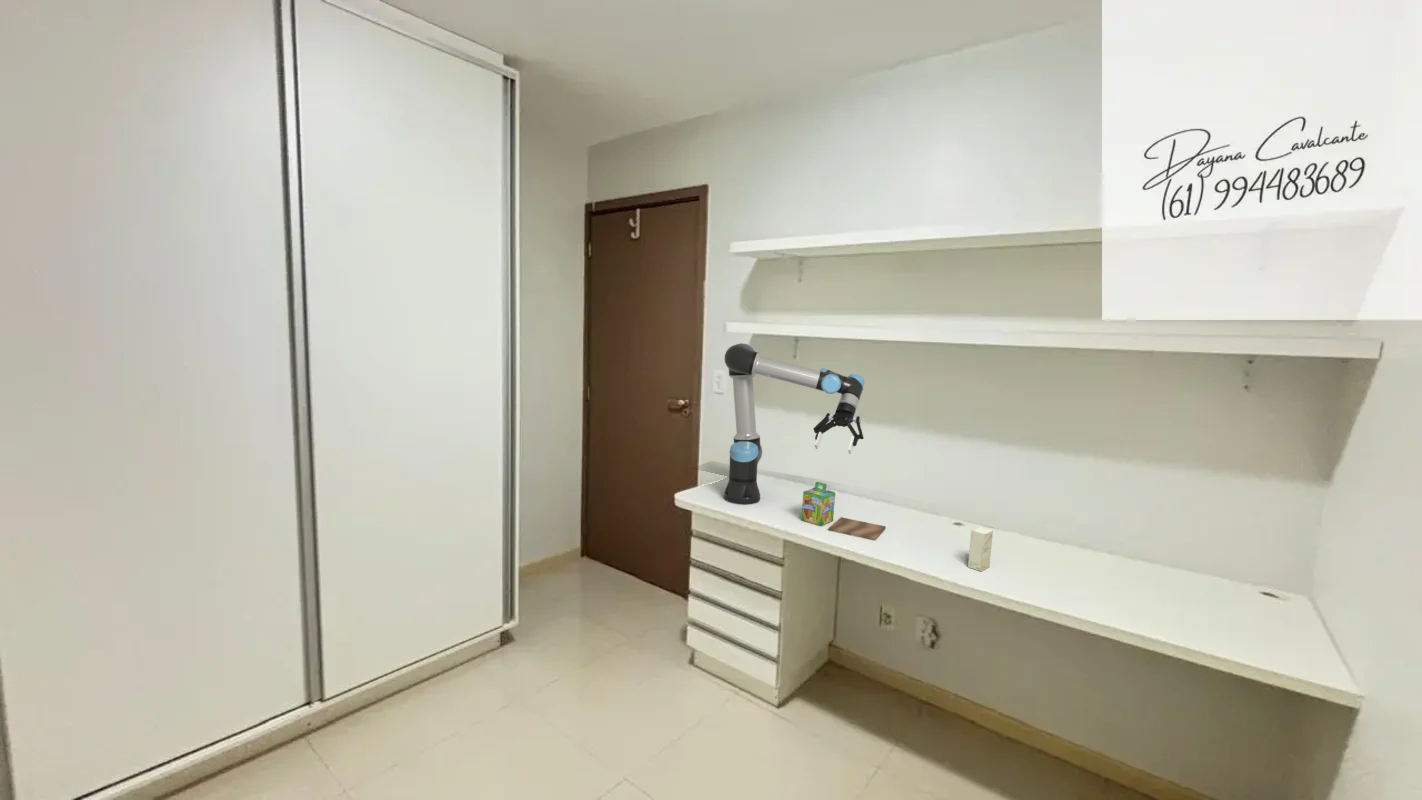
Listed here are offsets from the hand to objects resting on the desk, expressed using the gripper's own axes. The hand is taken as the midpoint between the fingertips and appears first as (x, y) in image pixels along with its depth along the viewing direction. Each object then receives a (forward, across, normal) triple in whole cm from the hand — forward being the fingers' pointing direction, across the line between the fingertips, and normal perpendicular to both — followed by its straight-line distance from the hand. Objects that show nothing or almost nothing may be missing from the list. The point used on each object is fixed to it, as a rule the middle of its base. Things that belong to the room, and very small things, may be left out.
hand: (832, 449), depth 230 cm
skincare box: (+34, -57, -2) cm, 67 cm away
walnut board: (+27, -15, -9) cm, 32 cm away
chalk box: (+27, 0, -10) cm, 29 cm away
